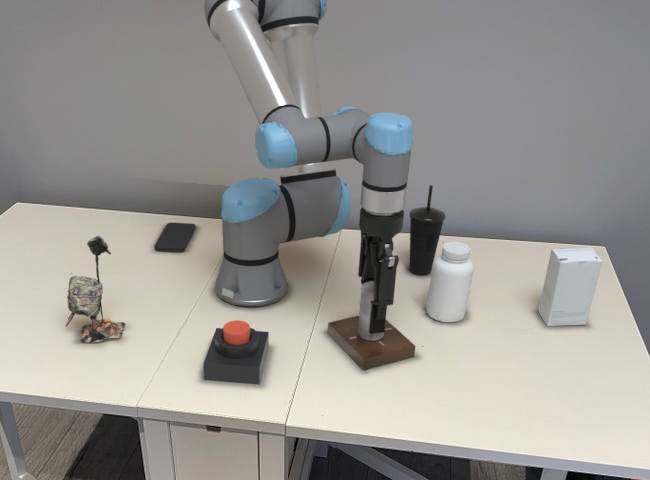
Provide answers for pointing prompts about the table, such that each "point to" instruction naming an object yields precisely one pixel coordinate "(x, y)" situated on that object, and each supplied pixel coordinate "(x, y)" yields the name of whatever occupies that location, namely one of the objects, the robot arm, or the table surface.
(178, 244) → the phone
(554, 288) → the cosmetic box
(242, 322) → the red push button
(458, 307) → the pill bottle
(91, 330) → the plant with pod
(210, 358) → the button base
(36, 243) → the table surface
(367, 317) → the dial
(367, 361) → the panel
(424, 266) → the drinking cup
